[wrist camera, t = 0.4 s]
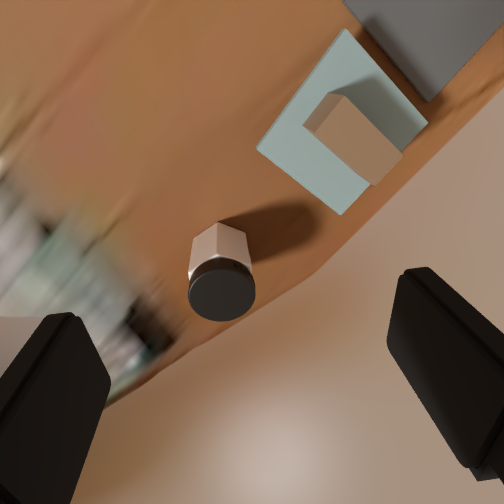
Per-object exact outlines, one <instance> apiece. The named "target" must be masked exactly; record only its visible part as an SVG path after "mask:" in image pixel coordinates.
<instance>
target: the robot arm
mask: <svg viewBox="0 0 504 504" xmlns="http://www.w3.org/2000/svg"><path fill="white" fill-rule="evenodd" d="M387 346H388V349H389V351H390V353H391V355H392V356H393V358H394V359H395V361H396V362H397V364H398V366H399V367H400V369H401V370H402V372H403V374H404V375H405V377H406V378H407V380H408V382H409V383H410V385H411V386H412V388H413V390H414V391H415V393H416V394H417V396H418V398H419V399H420V401H421V402H422V404H423V405H424V407H425V409H426V410H427V412H428V413H429V415H430V417H431V418H432V420H433V421H434V423H435V424H436V426H437V428H438V429H439V431H440V433H441V434H442V436H443V437H444V439H445V440H446V442H447V444H448V445H449V447H450V448H451V450H452V452H453V453H454V455H455V456H456V458H457V459H458V461H459V462H460V463H461V465H462V466H464V467H465V468H469V469H470V471H471V472H472V474H473V475H474V477H475V478H476V480H477V481H483V480H490V479H497V478H500V480H501V481H502V482H503V484H504V334H503V333H502V332H501V331H500V330H499V329H498V328H496V327H495V326H494V325H493V324H492V323H491V322H490V321H489V320H488V319H486V318H485V317H484V316H483V315H482V314H481V313H480V312H479V311H477V310H476V309H475V308H474V307H473V306H472V305H471V304H469V303H468V302H467V301H466V300H465V299H464V298H463V297H462V296H461V295H459V294H458V293H457V292H456V291H455V290H454V289H453V288H452V287H450V286H449V285H448V284H447V283H446V282H445V281H444V280H443V279H442V278H440V277H439V276H438V275H437V274H436V273H435V272H434V271H433V270H432V269H430V268H429V267H420V268H412V269H407V270H405V272H404V274H403V275H400V277H399V279H398V283H397V288H396V294H395V299H394V304H393V309H392V314H391V319H390V324H389V329H388V335H387ZM110 387H111V379H110V376H109V374H108V372H107V370H106V368H105V366H104V364H103V362H102V360H101V358H100V356H99V354H98V352H97V350H96V348H95V346H94V344H93V342H92V340H91V338H90V335H89V333H88V331H87V329H86V327H85V325H84V323H83V321H82V319H81V318H80V317H79V316H75V315H74V314H73V313H72V312H66V313H58V314H50V315H47V316H46V317H45V318H44V319H43V320H42V322H41V323H40V325H39V326H38V327H37V329H36V330H35V331H34V333H33V334H32V335H31V337H30V338H29V340H28V341H27V342H26V344H25V345H24V347H23V348H22V349H21V350H20V352H19V353H18V355H17V356H16V357H15V359H14V360H13V362H12V363H11V364H10V366H9V367H8V368H7V370H6V371H5V372H4V374H3V375H2V376H1V378H0V504H70V502H71V499H72V497H73V494H74V491H75V488H76V485H77V482H78V479H79V477H80V474H81V471H82V468H83V465H84V462H85V459H86V457H87V454H88V451H89V448H90V445H91V442H92V440H93V437H94V434H95V431H96V428H97V425H98V422H99V419H100V416H101V414H102V411H103V408H104V405H105V402H106V400H107V397H108V394H109V391H110Z"/></svg>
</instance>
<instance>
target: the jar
mask: <svg viewBox="0 0 504 504" xmlns="http://www.w3.org/2000/svg"><path fill="white" fill-rule="evenodd" d="M188 275H189V279H190V283H189V290H188V300H189V303H190V305H191V307H192V309H193V310H194V311H195V312H196V313H197V314H198V315H200V316H201V317H203V318H205V319H208V320H212V321H219V322H222V321H230V320H234V319H236V318H239V317H241V316H242V315H244V314H245V313H246V312H247V311H248V310H249V309H250V308H251V307H252V305H253V303H254V300H255V283H254V279H253V276H252V267H251V258H250V254H249V251H248V245H247V239H246V233H245V232H242V231H240V230H237V229H235V228H232V227H229V226H227V225H224V224H222V223H219V222H217V223H215V224H214V225H212V226H211V227H209V228H208V229H206V230H205V231H203V232H202V233H201V234H199V235H198V236H196V237H195V238H194V239H193V245H192V251H191V258H190V264H189V271H188Z"/></svg>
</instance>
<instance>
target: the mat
mask: <svg viewBox="0 0 504 504" xmlns="http://www.w3.org/2000/svg"><path fill="white" fill-rule="evenodd" d="M343 4H344V5H345V6H346V7H347V8H348V10H349V11H350V12H351V13H352V14H353V15H354V17H355V18H356V19H357V20H358V21H359V23H360V24H361V25H362V26H363V27H364V29H365V30H366V31H367V32H368V33H369V35H370V36H371V37H372V38H373V39H374V41H375V42H376V43H377V44H378V45H379V47H380V48H381V49H382V50H383V51H384V52H385V54H386V55H387V56H388V57H389V58H390V60H391V61H392V62H393V63H394V64H395V66H396V67H397V68H398V69H399V70H400V72H401V73H402V74H403V75H404V76H405V78H406V79H407V80H408V81H409V82H410V84H411V85H412V86H413V87H414V88H415V89H416V91H417V92H418V93H419V94H420V95H421V97H422V98H423V99H424V100H425V101H426V103H430V102H431V100H432V99H433V98H434V97H435V96H436V95H437V94H438V93H439V92H440V91H441V90H442V89H443V87H444V86H445V85H446V84H447V83H448V82H449V81H450V80H451V79H452V78H453V77H454V76H455V74H456V73H457V72H458V71H459V70H460V69H461V68H462V67H463V66H464V65H465V64H466V63H467V61H468V60H469V59H470V58H471V57H472V56H473V55H474V54H475V53H476V52H477V51H478V50H479V48H480V47H481V46H482V45H483V44H484V43H485V42H486V41H487V40H488V39H489V38H490V37H491V36H492V34H493V33H494V32H495V31H496V30H497V29H498V28H499V27H500V26H501V25H502V24H503V23H504V0H343Z"/></svg>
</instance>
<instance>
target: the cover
mask: <svg viewBox="0 0 504 504" xmlns="http://www.w3.org/2000/svg"><path fill="white" fill-rule="evenodd" d="M427 124H428V122H427V121H426V120H425V118H424V117H423V116H422V115H421V114H420V113H419V112H418V110H417V109H416V108H415V107H414V106H413V105H412V104H411V102H410V101H409V100H408V99H407V98H406V97H405V96H404V94H403V93H402V92H401V91H400V90H399V89H398V88H397V86H396V85H395V84H394V83H393V82H392V81H391V80H390V78H389V77H388V76H387V75H386V74H385V73H384V72H383V70H382V69H381V68H380V67H379V66H378V65H377V64H376V62H375V61H374V60H373V59H372V58H371V57H370V56H369V54H368V53H367V52H366V51H365V50H364V49H363V48H362V46H361V45H360V44H359V43H358V42H357V41H356V40H355V38H354V37H353V36H352V35H351V34H350V33H349V32H348V30H347V29H346V28H345V29H342V30H341V32H340V33H339V34H338V36H337V37H336V38H335V40H334V41H333V42H332V44H331V45H330V47H329V48H328V49H327V51H326V52H325V53H324V55H323V56H322V57H321V59H320V60H319V62H318V63H317V64H316V66H315V67H314V68H313V70H312V71H311V72H310V74H309V75H308V77H307V78H306V79H305V81H304V82H303V83H302V85H301V86H300V87H299V89H298V90H297V92H296V93H295V94H294V96H293V97H292V98H291V100H290V101H289V102H288V104H287V105H286V106H285V108H284V109H283V111H282V112H281V113H280V115H279V116H278V117H277V119H276V120H275V121H274V123H273V124H272V126H271V127H270V128H269V130H268V131H267V132H266V134H265V135H264V136H263V138H262V139H261V141H260V142H259V143H258V145H257V146H256V149H257V150H258V151H259V152H261V153H262V154H263V155H264V156H266V157H267V158H268V159H269V160H271V161H272V162H273V163H275V164H276V165H277V166H278V167H280V168H281V169H282V170H283V171H285V172H286V173H287V174H288V175H290V176H291V177H292V178H294V179H295V180H296V181H297V182H299V183H300V184H301V185H302V186H304V187H305V188H306V189H307V190H309V191H310V192H311V193H313V194H314V195H315V196H316V197H318V198H319V199H320V200H321V201H323V202H324V203H325V204H327V205H328V206H329V207H330V208H332V209H333V210H334V211H335V212H337V213H338V214H339V215H340V216H341V215H342V214H343V213H344V212H345V211H346V209H347V208H348V207H349V206H350V205H351V204H352V203H353V202H354V201H355V200H356V199H357V198H358V197H359V196H360V195H361V194H362V193H363V191H364V190H365V189H366V188H367V187H368V186H369V185H370V184H372V185H373V186H375V185H376V184H377V183H378V182H379V181H380V180H381V179H382V178H383V177H384V176H385V175H386V174H387V173H388V172H389V171H390V170H391V169H392V168H393V167H394V165H395V164H396V163H397V162H398V161H399V160H400V159H401V158H402V157H403V156H404V155H403V154H402V153H401V151H402V150H403V149H404V148H405V147H406V146H407V145H408V144H409V143H410V142H411V141H412V139H413V138H414V137H415V136H416V135H417V134H418V133H419V132H420V131H421V130H422V129H423V128H424V127H425V126H426V125H427Z"/></svg>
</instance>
